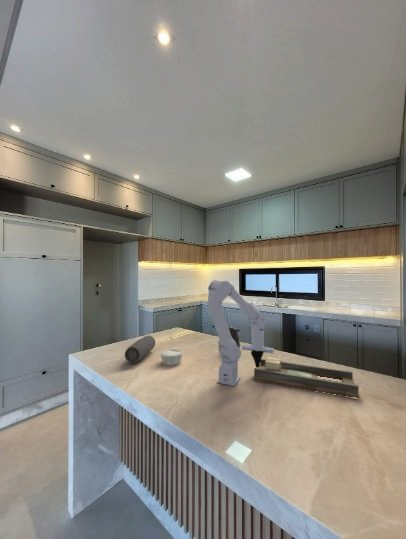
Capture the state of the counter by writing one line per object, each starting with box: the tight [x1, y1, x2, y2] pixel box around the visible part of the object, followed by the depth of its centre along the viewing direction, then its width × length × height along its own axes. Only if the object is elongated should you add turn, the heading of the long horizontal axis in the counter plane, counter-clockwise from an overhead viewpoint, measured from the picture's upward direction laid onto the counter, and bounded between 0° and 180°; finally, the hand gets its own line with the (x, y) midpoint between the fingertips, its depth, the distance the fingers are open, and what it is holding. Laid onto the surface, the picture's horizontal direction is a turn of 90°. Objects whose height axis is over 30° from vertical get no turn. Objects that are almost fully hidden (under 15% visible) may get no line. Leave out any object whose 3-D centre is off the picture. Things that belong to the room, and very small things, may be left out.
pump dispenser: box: [228, 326, 241, 349], centre depth 142 cm, size 10×10×15 cm
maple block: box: [265, 356, 282, 372], centre depth 110 cm, size 6×6×5 cm
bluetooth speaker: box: [124, 335, 157, 364], centre depth 133 cm, size 23×9×10 cm, turn 171°
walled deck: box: [253, 357, 360, 399], centre depth 105 cm, size 17×39×4 cm, turn 66°
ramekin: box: [160, 349, 184, 367], centre depth 127 cm, size 11×11×5 cm
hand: (257, 366), depth 113 cm, fingers closed
